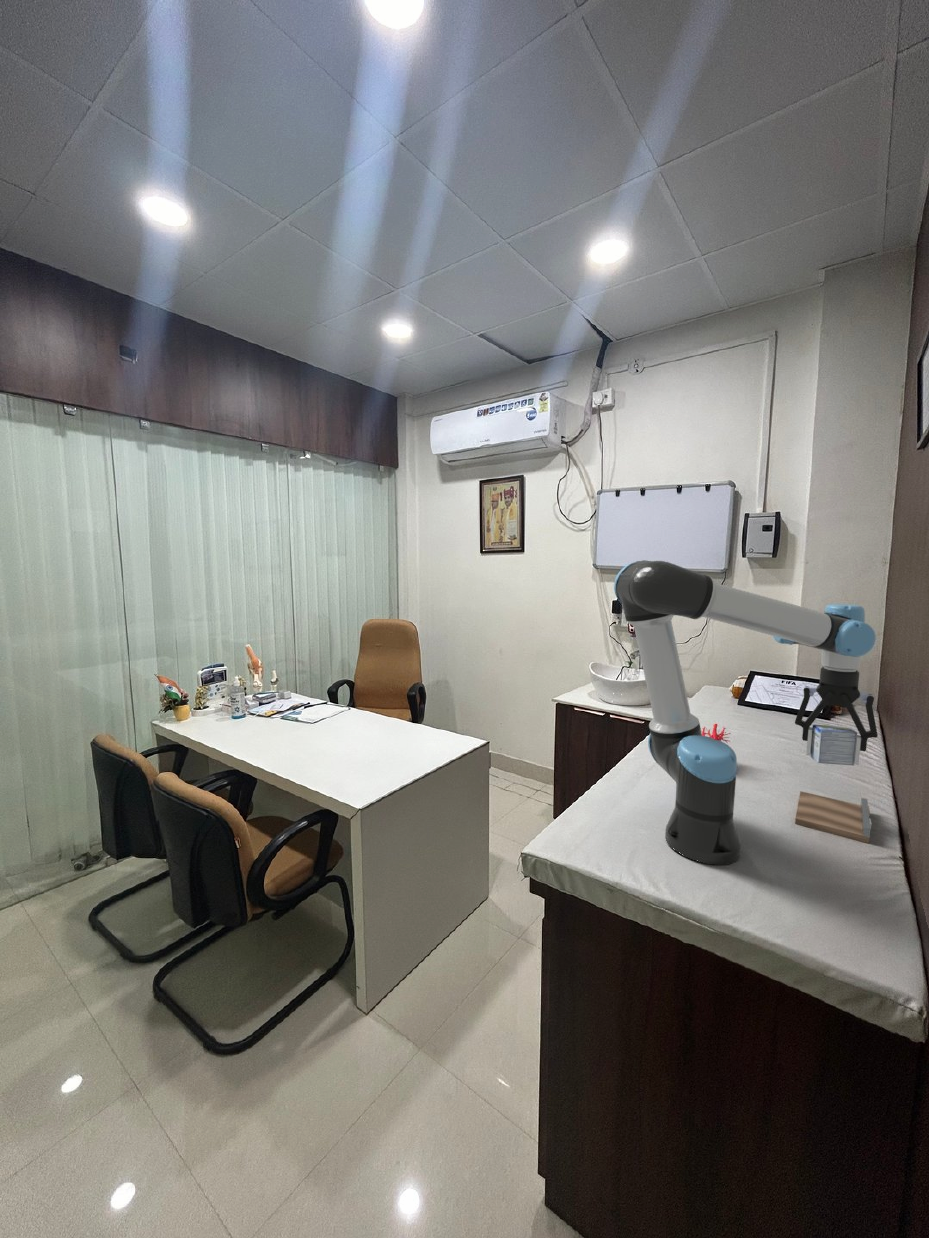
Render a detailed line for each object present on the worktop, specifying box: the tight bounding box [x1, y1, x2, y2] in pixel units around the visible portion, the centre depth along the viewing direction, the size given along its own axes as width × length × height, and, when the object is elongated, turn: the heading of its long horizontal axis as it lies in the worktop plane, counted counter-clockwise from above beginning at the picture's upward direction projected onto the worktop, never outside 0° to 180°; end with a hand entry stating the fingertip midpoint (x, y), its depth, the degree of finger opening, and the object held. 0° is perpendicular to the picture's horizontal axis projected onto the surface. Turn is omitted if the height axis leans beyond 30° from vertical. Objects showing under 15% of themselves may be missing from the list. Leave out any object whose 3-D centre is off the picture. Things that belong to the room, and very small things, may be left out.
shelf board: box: [794, 791, 872, 844], centre depth 123 cm, size 18×14×4 cm
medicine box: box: [810, 724, 858, 767], centre depth 122 cm, size 8×4×9 cm, turn 78°
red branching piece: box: [701, 723, 732, 744], centre depth 155 cm, size 10×12×12 cm
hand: (831, 758), depth 122 cm, fingers closed on medicine box, 9 cm apart
